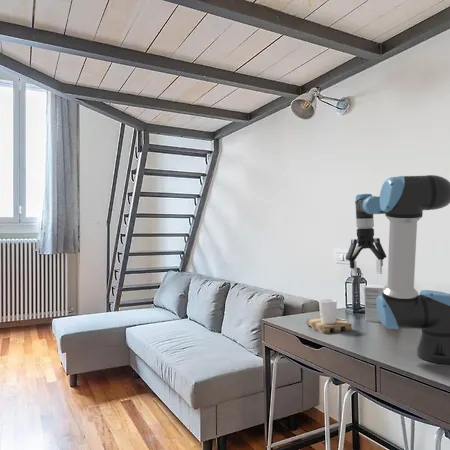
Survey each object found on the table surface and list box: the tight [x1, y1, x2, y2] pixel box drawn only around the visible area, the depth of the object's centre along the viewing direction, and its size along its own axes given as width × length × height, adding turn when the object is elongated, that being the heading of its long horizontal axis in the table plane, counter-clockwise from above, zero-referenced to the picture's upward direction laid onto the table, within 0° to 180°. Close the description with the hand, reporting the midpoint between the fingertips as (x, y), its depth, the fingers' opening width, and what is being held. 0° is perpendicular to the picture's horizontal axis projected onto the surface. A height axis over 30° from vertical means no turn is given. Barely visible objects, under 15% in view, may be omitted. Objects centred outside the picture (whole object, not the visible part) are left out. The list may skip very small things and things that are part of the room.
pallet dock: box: [306, 317, 353, 335], centre depth 190 cm, size 16×14×3 cm
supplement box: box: [363, 283, 387, 323], centre depth 202 cm, size 10×9×17 cm
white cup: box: [318, 298, 338, 324], centre depth 188 cm, size 8×8×10 cm
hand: (366, 274), depth 186 cm, fingers open, 13 cm apart
